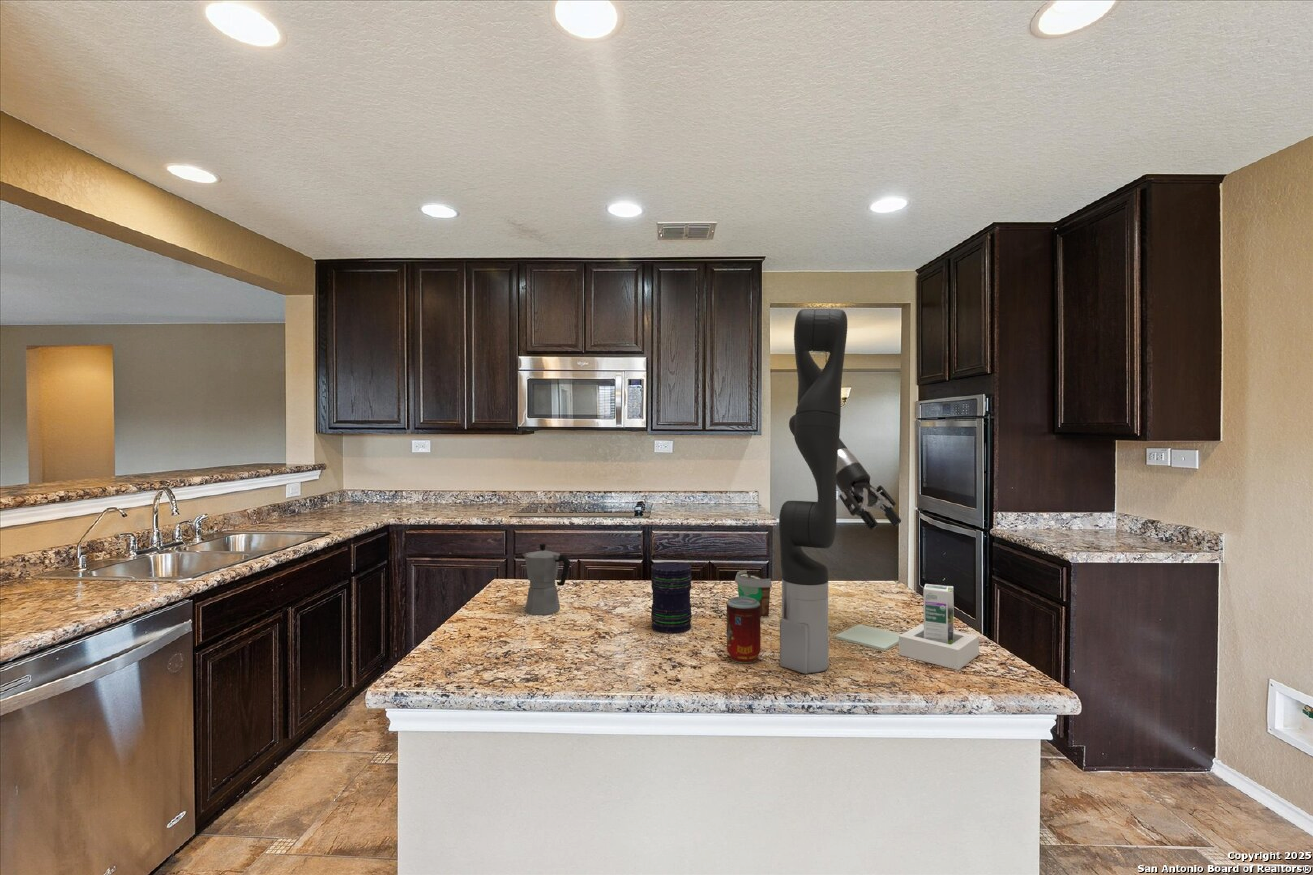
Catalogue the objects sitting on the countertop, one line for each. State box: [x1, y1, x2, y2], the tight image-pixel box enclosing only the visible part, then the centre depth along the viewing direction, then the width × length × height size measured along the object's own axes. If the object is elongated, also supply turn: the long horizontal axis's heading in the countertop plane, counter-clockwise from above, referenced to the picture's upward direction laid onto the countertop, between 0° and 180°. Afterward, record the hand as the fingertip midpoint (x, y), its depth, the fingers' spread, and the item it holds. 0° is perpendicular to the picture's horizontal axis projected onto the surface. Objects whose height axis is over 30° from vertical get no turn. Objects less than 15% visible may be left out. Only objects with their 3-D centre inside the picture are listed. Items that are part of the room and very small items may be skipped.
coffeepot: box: [522, 543, 571, 616], centre depth 161 cm, size 15×9×18 cm, turn 62°
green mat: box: [833, 623, 902, 652], centre depth 139 cm, size 12×12×1 cm
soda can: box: [726, 596, 762, 664], centre depth 126 cm, size 7×7×12 cm
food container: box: [734, 569, 773, 617], centre depth 159 cm, size 12×6×10 cm, turn 25°
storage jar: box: [650, 561, 692, 635], centre depth 147 cm, size 10×10×15 cm
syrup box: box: [922, 583, 955, 645], centre depth 128 cm, size 6×6×14 cm
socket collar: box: [898, 623, 980, 671], centre depth 128 cm, size 12×12×4 cm
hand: (886, 525), depth 137 cm, fingers open, 8 cm apart
